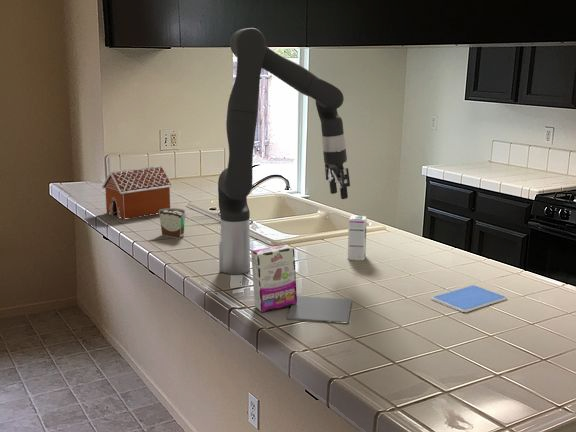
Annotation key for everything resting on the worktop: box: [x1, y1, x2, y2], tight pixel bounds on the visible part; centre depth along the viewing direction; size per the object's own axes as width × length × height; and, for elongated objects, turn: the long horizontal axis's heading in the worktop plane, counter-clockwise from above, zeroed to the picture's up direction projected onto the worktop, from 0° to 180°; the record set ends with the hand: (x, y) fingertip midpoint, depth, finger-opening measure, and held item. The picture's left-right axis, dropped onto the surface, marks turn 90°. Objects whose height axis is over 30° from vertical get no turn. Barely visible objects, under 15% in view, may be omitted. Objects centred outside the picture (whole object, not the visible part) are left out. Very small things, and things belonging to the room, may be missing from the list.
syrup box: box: [347, 214, 367, 262], centre depth 215 cm, size 6×6×14 cm
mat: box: [286, 295, 352, 323], centre depth 171 cm, size 16×16×1 cm
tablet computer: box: [431, 284, 508, 313], centre depth 180 cm, size 19×13×1 cm, turn 125°
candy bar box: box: [250, 244, 298, 313], centre depth 171 cm, size 11×5×16 cm, turn 117°
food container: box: [157, 207, 188, 240], centre depth 240 cm, size 12×6×10 cm, turn 58°
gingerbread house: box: [101, 165, 174, 220], centre depth 274 cm, size 18×26×20 cm
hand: (339, 196), depth 209 cm, fingers open, 8 cm apart
